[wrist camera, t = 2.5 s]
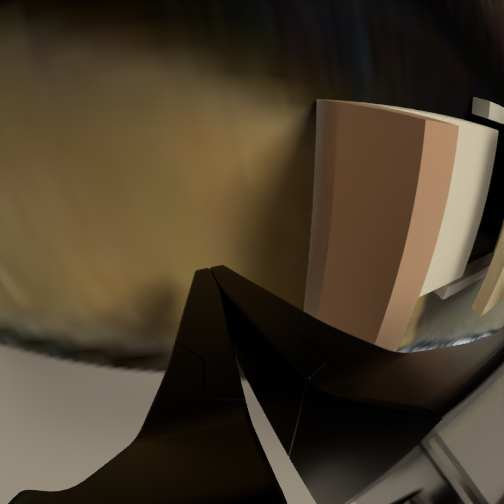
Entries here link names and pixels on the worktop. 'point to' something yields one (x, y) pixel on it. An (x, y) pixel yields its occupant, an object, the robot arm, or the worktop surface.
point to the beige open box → (493, 264)
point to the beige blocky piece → (391, 212)
